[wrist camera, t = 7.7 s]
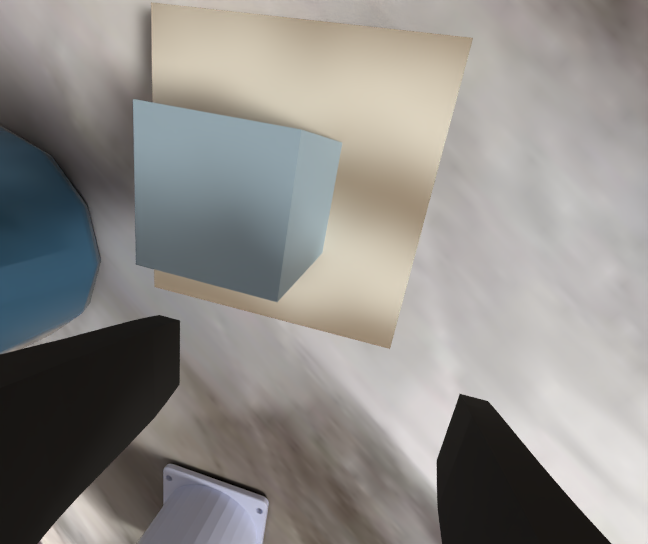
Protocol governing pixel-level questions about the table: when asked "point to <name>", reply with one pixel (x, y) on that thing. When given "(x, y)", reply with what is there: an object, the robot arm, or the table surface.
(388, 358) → the table surface
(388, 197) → the plinth
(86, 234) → the wine bottle
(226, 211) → the block
